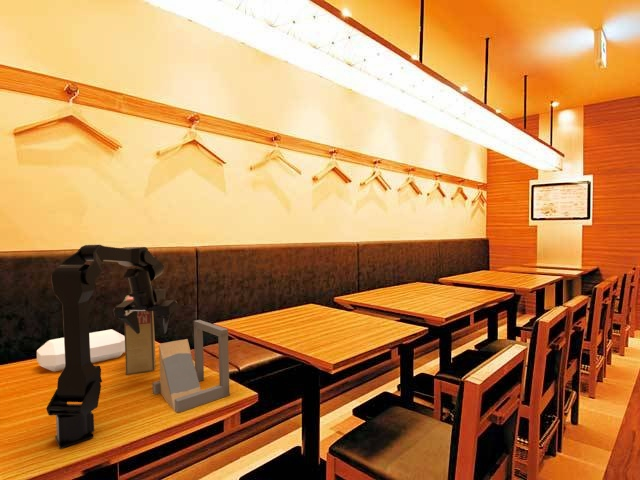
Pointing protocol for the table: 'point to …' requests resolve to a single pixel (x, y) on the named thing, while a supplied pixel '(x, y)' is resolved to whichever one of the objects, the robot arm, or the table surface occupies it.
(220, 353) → the grey frame stand
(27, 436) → the table surface
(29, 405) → the table surface
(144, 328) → the food packaging
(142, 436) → the table surface
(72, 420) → the robot arm
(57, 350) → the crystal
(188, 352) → the sandwich container
